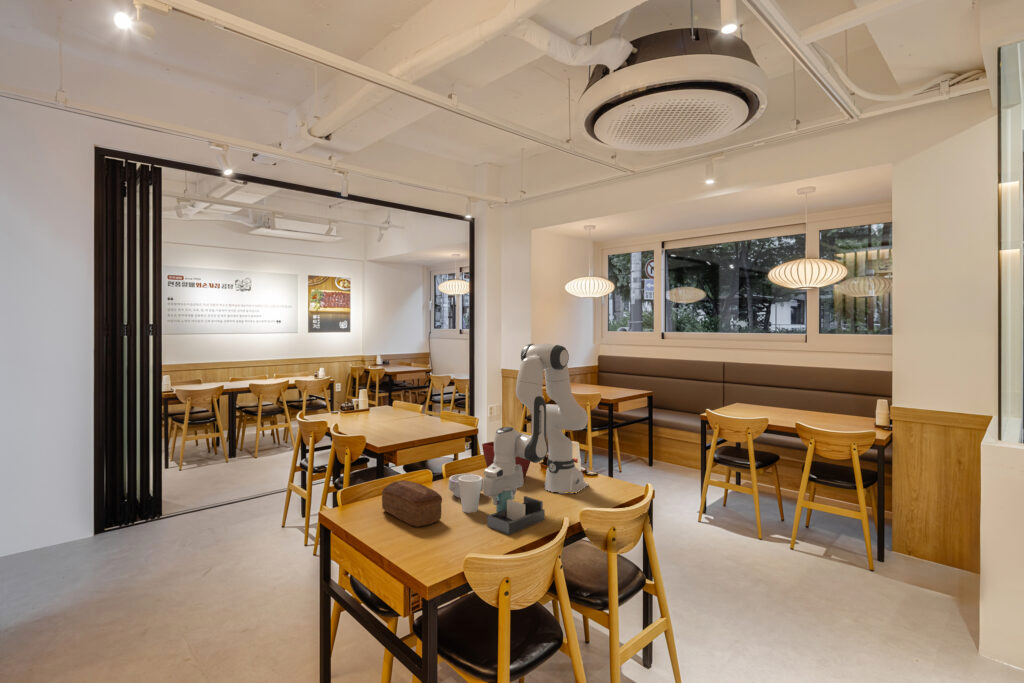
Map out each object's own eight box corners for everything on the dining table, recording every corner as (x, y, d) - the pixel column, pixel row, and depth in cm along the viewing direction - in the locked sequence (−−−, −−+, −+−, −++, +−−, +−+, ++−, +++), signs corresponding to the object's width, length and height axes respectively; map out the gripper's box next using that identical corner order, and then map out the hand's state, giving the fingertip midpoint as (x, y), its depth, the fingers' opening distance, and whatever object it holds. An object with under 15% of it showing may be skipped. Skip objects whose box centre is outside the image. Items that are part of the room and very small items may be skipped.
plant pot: (506, 485, 231) (506, 450, 231) (480, 476, 245) (481, 443, 245) (534, 478, 244) (535, 444, 244) (509, 470, 258) (509, 438, 258)
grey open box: (523, 512, 196) (523, 495, 196) (544, 520, 188) (544, 502, 188) (487, 526, 181) (487, 507, 181) (508, 535, 174) (508, 515, 174)
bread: (415, 532, 176) (415, 498, 176) (376, 511, 196) (377, 480, 196) (446, 522, 185) (447, 490, 185) (406, 503, 206) (407, 474, 205)
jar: (503, 507, 202) (503, 483, 202) (514, 511, 198) (514, 486, 198) (493, 511, 197) (493, 486, 197) (503, 515, 193) (504, 489, 193)
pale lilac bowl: (485, 490, 223) (485, 473, 223) (479, 501, 208) (480, 483, 208) (452, 489, 225) (452, 472, 225) (444, 500, 210) (445, 481, 210)
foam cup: (485, 508, 200) (486, 477, 200) (472, 515, 192) (473, 482, 192) (467, 504, 205) (467, 473, 204) (453, 511, 197) (453, 479, 197)
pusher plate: (508, 516, 188) (509, 499, 188) (525, 522, 182) (525, 504, 182) (506, 517, 187) (506, 499, 187) (522, 523, 181) (523, 505, 181)
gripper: (516, 461, 207) (515, 494, 207) (480, 471, 192) (480, 506, 192) (527, 464, 203) (526, 497, 203) (492, 474, 188) (491, 510, 188)
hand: (504, 502), depth 198 cm, fingers open, 8 cm apart
